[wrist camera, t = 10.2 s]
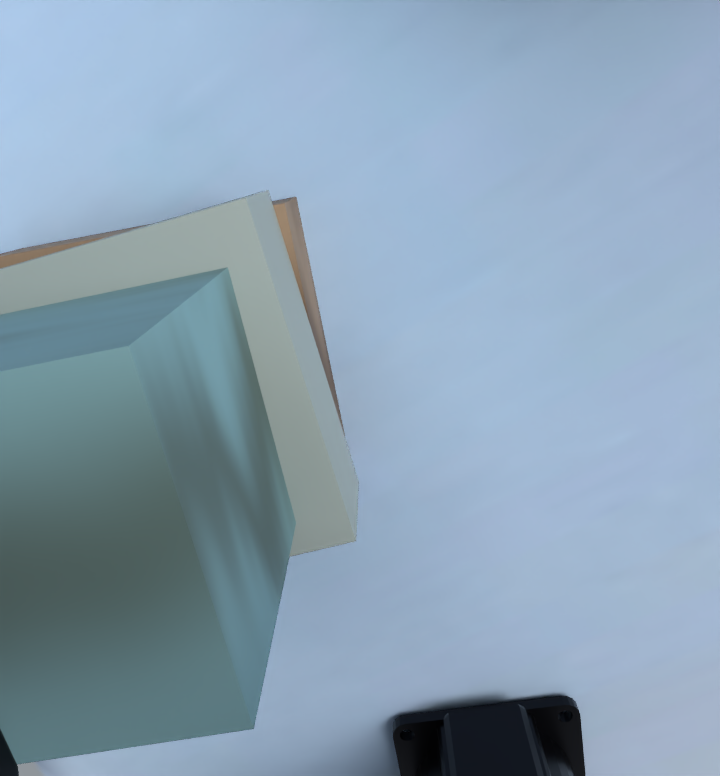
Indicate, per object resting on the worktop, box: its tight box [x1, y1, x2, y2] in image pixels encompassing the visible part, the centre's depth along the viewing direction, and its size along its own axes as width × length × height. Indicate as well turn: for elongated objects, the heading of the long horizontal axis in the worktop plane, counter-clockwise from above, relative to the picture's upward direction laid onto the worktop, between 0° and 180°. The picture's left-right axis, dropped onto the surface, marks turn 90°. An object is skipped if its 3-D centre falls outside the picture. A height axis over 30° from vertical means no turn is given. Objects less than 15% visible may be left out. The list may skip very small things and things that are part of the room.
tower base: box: [0, 197, 345, 436], centre depth 19 cm, size 8×8×3 cm
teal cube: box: [0, 267, 296, 764], centre depth 12 cm, size 6×6×6 cm
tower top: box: [0, 190, 359, 557], centre depth 17 cm, size 8×8×3 cm
